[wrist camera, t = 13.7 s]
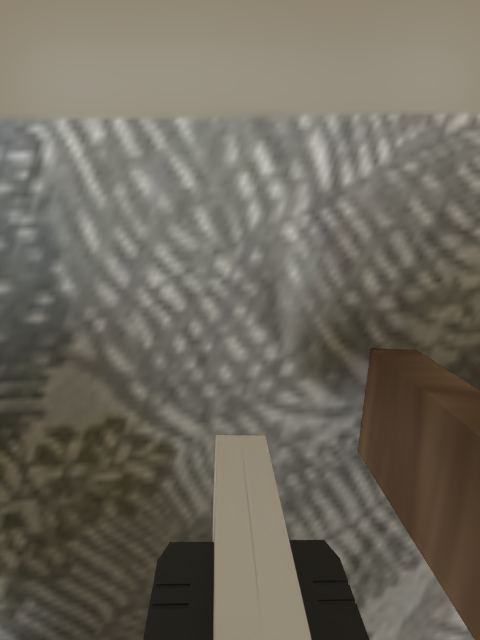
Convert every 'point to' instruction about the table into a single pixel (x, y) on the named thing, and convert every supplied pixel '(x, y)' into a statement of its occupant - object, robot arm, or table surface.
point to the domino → (429, 465)
